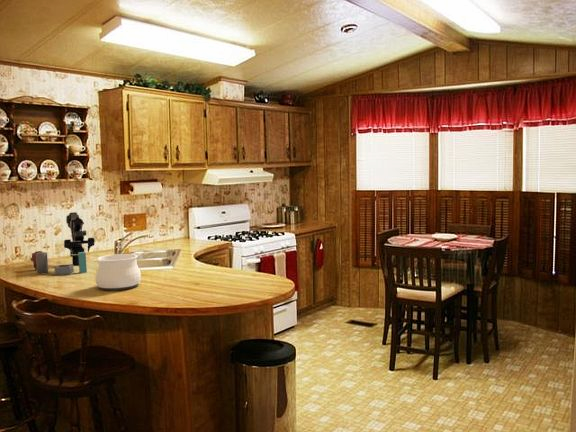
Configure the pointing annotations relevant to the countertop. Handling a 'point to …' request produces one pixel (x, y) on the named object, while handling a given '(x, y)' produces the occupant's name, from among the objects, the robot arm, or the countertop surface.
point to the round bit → (42, 262)
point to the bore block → (64, 269)
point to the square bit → (82, 262)
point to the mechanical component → (35, 259)
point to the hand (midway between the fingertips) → (80, 252)
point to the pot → (118, 272)
